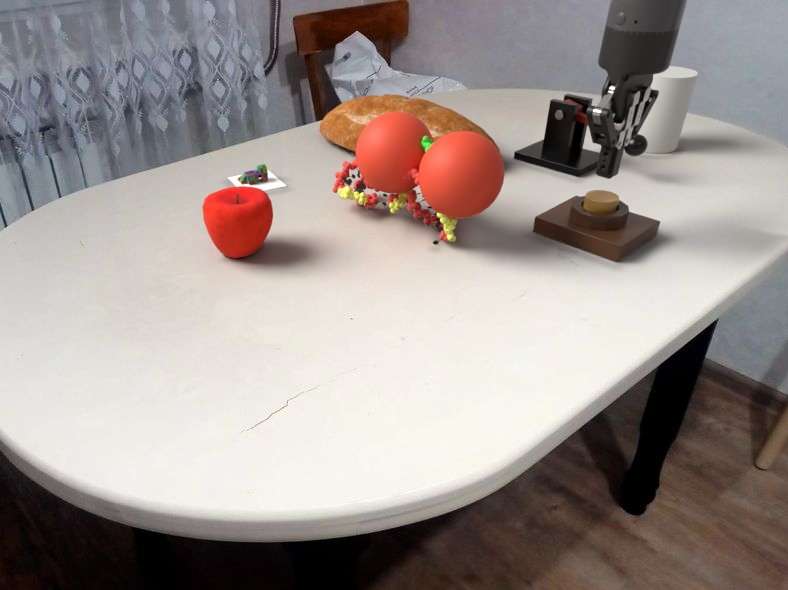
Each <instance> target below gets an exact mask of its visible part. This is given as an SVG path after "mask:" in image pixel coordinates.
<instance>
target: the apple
mask: <svg viewBox="0 0 788 590" xmlns="http://www.w3.org/2000/svg"><path fill="white" fill-rule="evenodd" d="M202 218H203V223H204V225H205V229H206V232H207V234H208V236H209V237H210V239H211V241H212V243H213V245H214V246H215V248H216V249H217V250H218V251H219V252H220V253H221V254H222V255H223V256H224V257H228V258H232V259H237V258H238V259H239V258H243V257H247V256H250V255H252V254H254V253H255V252H257V251H258V250H259V249H261V247H262V246H263V245H264V243H265V241H266V239H267V237H268V235H269V233H270V231H271V228H272V225H273V221H274V220H273V219H274V209H273V203H272V200H271V198H270V196H269V195H268V192H266V191H265V190H264V191H263V190H262V189H259V188H255V187H246V186H238V187H236V186H228V187H225V188H222V189H219V190H217V191H214V192H212V193H209V194H208V195H207V196H206V197H205V198H204V200H203V204H202Z"/></svg>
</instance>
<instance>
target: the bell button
mask: <svg viewBox="0 0 788 590" xmlns="http://www.w3.org/2000/svg"><path fill="white" fill-rule="evenodd" d="M584 196H585V200H584V205H583V208H585V209H586V210H588V211H591V212H594V213H604V214H607V213H614V212H616V209H617V205H618V201H619V200H620V196H619V195H618V194H616V193H615V192H613V191H610V190H605V189H604V190H603V189H593V190H589V191H587V192H586V193H585V195H584Z"/></svg>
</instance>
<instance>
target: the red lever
mask: <svg viewBox="0 0 788 590" xmlns="http://www.w3.org/2000/svg"><path fill="white" fill-rule="evenodd" d="M565 101H567V102H571V103H576V102H574V101H572V100H570V99H567V100H565ZM576 104H578V103H576ZM582 108H583V106H582V105H580V104H579V107H578V112H577V117H576V121H577V120H578V121H579V122H581V123H583V124H585V125H587V127H589V125H588V121H587V116H586V114H584V113H582V112H581V111H582ZM647 146H648V142H647V139H646V138H645V137H644V136H643V135H640V134H637V136H636V137H635V138H634V137H631V138H630V142H629V144H628V145H627V146H624V152H625V154H627V156H630V157H633V158H635V157H639V156H642V155H643V154H644V153H646V152H645V151H646V149H647Z"/></svg>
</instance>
